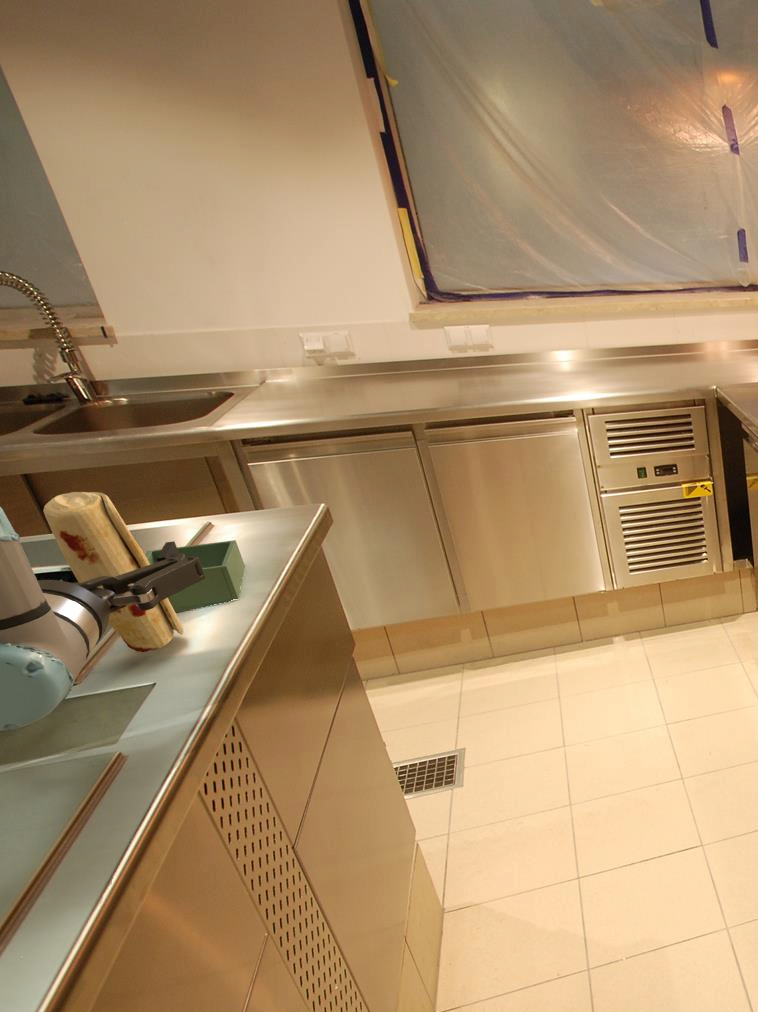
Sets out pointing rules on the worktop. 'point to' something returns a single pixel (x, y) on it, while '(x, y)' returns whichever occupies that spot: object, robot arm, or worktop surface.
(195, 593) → the bin
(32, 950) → the worktop surface
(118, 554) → the food model
